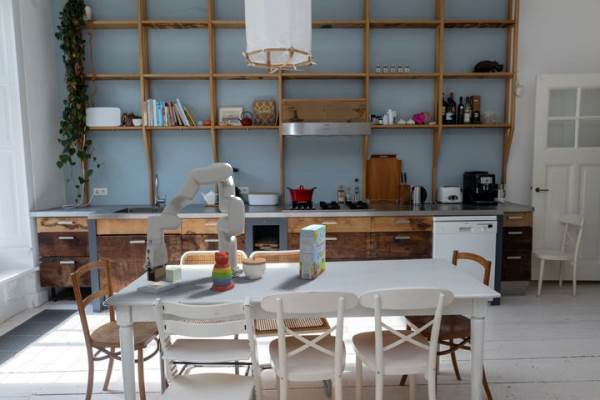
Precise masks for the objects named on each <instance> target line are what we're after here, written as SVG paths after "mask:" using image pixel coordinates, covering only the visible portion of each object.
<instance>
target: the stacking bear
mask: <svg viewBox="0 0 600 400" xmlns="http://www.w3.org/2000/svg"><path fill="white" fill-rule="evenodd" d="M228 255H229V253H228V252H219V251H215V253H214V262H215V264H213V268H212V272H211V279H212V280H211V281H212V284H211V290H213V291H214V292H227V291H231V290H232V289H234V288H235V287H236V286H235V283H234V282H232V279H233V277H232V271H231V267H230V265H229V264H228V261H229V256H228Z"/></svg>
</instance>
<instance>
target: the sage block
mask: <svg viewBox="0 0 600 400" xmlns="http://www.w3.org/2000/svg"><path fill="white" fill-rule="evenodd" d="M182 278H183V277H182V267H177V266H169V267H166V279H165V280H163V282H170V283H176V282H178V281H180V280H182Z"/></svg>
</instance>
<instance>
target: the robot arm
mask: <svg viewBox="0 0 600 400" xmlns="http://www.w3.org/2000/svg"><path fill="white" fill-rule="evenodd" d="M233 171H234V169H233V167H232V166H231V164H229V163H227V162H214V163H211V164H209V166H207V167H197V168H193V169H192V170H191V171H189V173H188V175H187V176H186V178H185V180H184V181H183V183H182V186H181V187H180V188H179V190H178V192H177V193H176V194H175V195H174V196H173V197H172V198H171V199H170V200H169V201H168V203H167V204H166V206H165V207H164V209H163V210H162V211H161V213H160V214H159V215H158V214H157V215H156V214H155V215H149V216H147V217H146V235H147V236H146V237H147V238H146V240H147V241H146V251H145V262H144V263H143V265H142V266H143V269H144V270H145V271H146V273H147V272H148V277H149V281H148V282H152V281H154V273H153V271H154V267H157V266H163V267H166V268H167V265H168V263H169V260H170V259H168V258H169V257H168V249H167V245H166V243H165V231H177V230H178V229H179V228H181V226H182V224H183V222H182V219H181V218H180V216H179V215H178V214H179V213H180V212H181V211H182V210H183V208H185V207H186V206H188V205H190V204H192V203H193V202H194V201H195V199H196V197H197V195H198V194H199V192H200V190H201V188H202V187H203V186H209V185H213V184H217V188H218V209H219V211H220V212H221V213H223V214H227V215H225V216H224V215H223V216H221V217H220V218H218V220H217V221H216V232H217V238H218V252H228V253H229V255H228V256H229V261H228V264H229V265H230V267H231V271H232V278H236V277H239V276H240V275H242V274H244V272H243V268H242V269H241V268H240V266H238V239H237V237H238V236H240V235H242V234H243V232H244V230H245V226H246V223H245V222H246V218H245V217H246V215H245V213H246V211H245V209H246V206H245V203H244V200H243V199H242V198H241V197H239V196H236V185H235V181H234V179H233V177H232V176H233ZM151 267H152V268H151Z"/></svg>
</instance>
